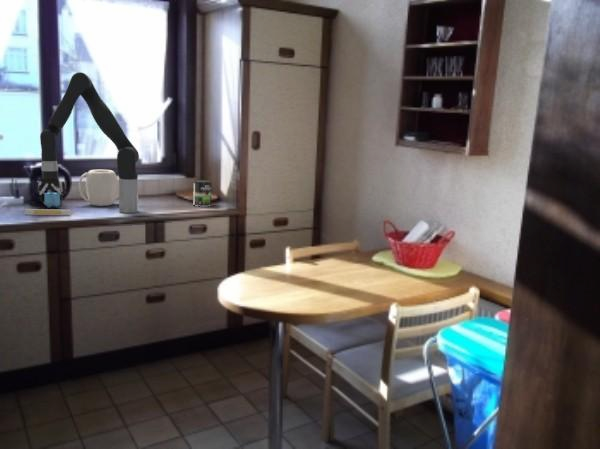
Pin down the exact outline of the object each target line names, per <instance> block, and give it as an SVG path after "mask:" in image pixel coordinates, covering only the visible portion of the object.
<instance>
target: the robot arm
mask: <svg viewBox="0 0 600 449" xmlns="http://www.w3.org/2000/svg"><path fill="white" fill-rule="evenodd" d="M80 96H81V98H82V99H83V100H84V102H85V103H86V105H87V106H88V109H89V111H90V114H91V116H92V118H93V120H94V122H95V123H96V125H97V126H98V128H99V129H100V130H101V131H102V133H103V134H104V135H105V136H106V137H107V138H108V139H110V141H111V142H112V143H113V144H114V145H115V147H116V149H117V151H118V152H117V155H116V166H117V169H116V170H117V175H118V177H119V198H118V211H119V213H121V214H122V213H123V214H125V213H126V214H134V213H138V212H139V192H138V191H139V190H138V189H139V188H138V184H139V183H138V180H139V179H138V173H137V171H136V170H137V168H136V164H137V163H138V161H139V158H140V154H139V152H138V150H137V149H136V147H135V146H134V145H133V143H132V142H131V141H130V140H129V138H128V137H127V136H126V134H125V131H124V130H123V128H122V126H121V125H120V124H119V122H118V120H117V119H116V117H115V115H114V114H113V111H111V110H110V108H109V107H108V105H107V104H106V103H105V102H104V100H103V99H102V98H101V96H100V94H99V93H98V91H97V89H96V87H95V86H94V83H93V81H92V79H91V77H89V75H87V74H86V73H84V72H79V71H78V72H76V73H74V74H73V75H72V76H71V78H70V80H69V83H68V85H67V88H66V91H65V92H64V95H63V96H62V98H61V100H60V102H59V104H58V105H57V107H56V108H55V110H54V112H53V113H52V115H51V116H50V119H49V121H48V123H47V124H46V126H44V127H45V128H44V129H43V130H42V131H41V132H40V136H39V138H40V140H39V141H40V147H41V154H40V155H41V164H40V165H41V168H40V170H41V181H39V180H37V181H36V180H35V182H34V184H35V186H34V188H35V190H34V191H35V192H34V193H35V194H38V195H39V201H41V203H44V196H43V193H45V191H46V190H47V191H56V193H58V194H60V203H61V202H62V201H63V197H64V196H63V195H64V194H66V193H67V187H66V181H65V180H64V181H59V165H58V154H57V147H56V146H57V142H56V140H57V138H58V136H59V134H60V132H61V130H62V129H63V128H64V126H65V125H66V123H67V122H68V120H69V118H71V114H72V112H73V109H74V107H75V104H76V102H77V101H78V100H79V97H80ZM40 186H42V188H41V190H40ZM59 186H61V188H60V187H59ZM61 189H62V190H61Z"/></svg>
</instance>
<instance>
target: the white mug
mask: <svg viewBox="0 0 600 449" xmlns="http://www.w3.org/2000/svg"><path fill="white" fill-rule="evenodd" d="M84 177H86V178H85V190H86V191H85V192H86V195H85V194H84V193H83V192H84V191H83V190H82V181H83V178H84ZM77 187H78V192H79V194H80V196H81V197H82V199H83V200H85V202H88V203H89V204H90V205H92V206H99V207H104V206H105V207H107V206H108V207H109V206H110V205H114V203H115V201H116V200H117V199H119V176H117V175H116V172H115V171H113V170H111V169H103V168H102V169H90V170H88V172H84V173H83V174H82V175H81V176H80V177H79V181H78V186H77ZM86 196H87V197H86Z"/></svg>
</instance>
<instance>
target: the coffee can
mask: <svg viewBox="0 0 600 449" xmlns="http://www.w3.org/2000/svg"><path fill="white" fill-rule="evenodd" d="M192 182H193V190H192V191H193V193H192V195H193V196H192V198H193V199H192V202H193V203H192V206H193V205H195V206H194V207H198V206H200V207H199V208H201V207H202V208H203V207H204V208H207V207H208V206H209V207H211V206H212V182H213V181H212V180H207V179H194V180H193V181H192ZM209 207H208V208H209Z"/></svg>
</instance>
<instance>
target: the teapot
mask: <svg viewBox="0 0 600 449" xmlns="http://www.w3.org/2000/svg"><path fill="white" fill-rule="evenodd" d="M43 196H44V202H43V205H45V207H47V209H48V208H49V209H50V208H51V207H55V208H59V206H61V202H60V194H59V193H58V192H54V191H47V192H44V193H43Z"/></svg>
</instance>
